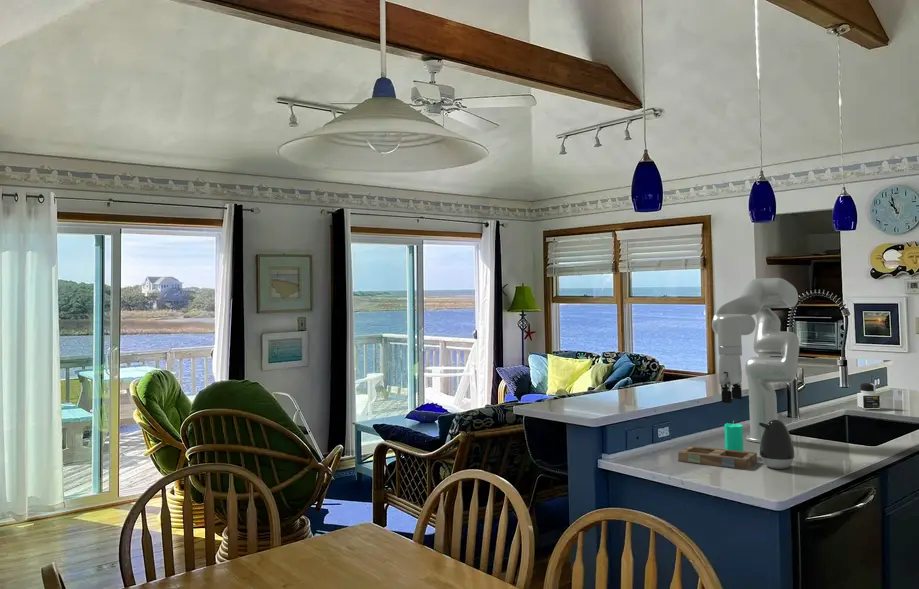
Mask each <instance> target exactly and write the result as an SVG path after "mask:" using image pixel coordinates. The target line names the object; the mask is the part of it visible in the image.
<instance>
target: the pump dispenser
mask: <svg viewBox="0 0 919 589" xmlns="http://www.w3.org/2000/svg"><path fill="white" fill-rule="evenodd" d="M759 425H760V426H762V427H764V428H765V429H764V432H763V434H762V438H761V443H760V445H759V456H760V457H761V458H760V459H761V461H762V462H763V464H764V465H765V466H767V467H768V468H770V469H775V470H782V469H787V468H789V467H790V466H791V465H792V464H793V461H794V458H795V456H796V455H795V448H794V443H793V440H792V438H791V437H792V436H791V434H790V432H789V430H788V428H787V426H786V424H785V423H784V422H783V421H782V420H780V419H777V420H771V421H769V422H768V424H764V423H761V422H760V423H759Z"/></svg>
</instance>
